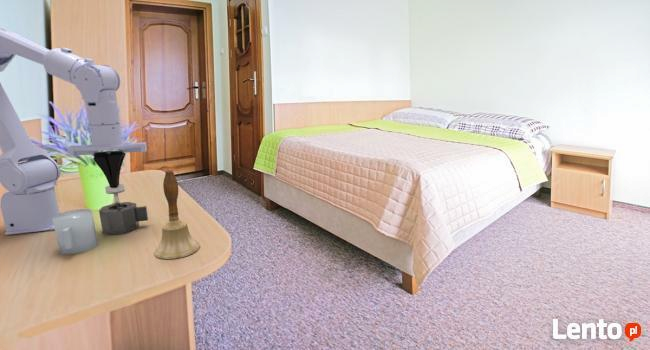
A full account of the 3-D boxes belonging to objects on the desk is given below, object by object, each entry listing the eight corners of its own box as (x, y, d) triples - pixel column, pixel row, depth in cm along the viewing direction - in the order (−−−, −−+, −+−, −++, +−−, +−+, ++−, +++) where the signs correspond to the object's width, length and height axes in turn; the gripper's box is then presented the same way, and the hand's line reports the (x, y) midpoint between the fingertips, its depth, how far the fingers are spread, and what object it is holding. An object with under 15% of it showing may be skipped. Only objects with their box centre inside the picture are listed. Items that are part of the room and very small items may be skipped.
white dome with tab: (49, 261, 64) (42, 225, 63) (66, 243, 72) (60, 211, 70) (89, 255, 66) (83, 221, 65) (101, 238, 74) (96, 207, 72)
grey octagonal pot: (100, 236, 75) (96, 213, 74) (108, 225, 81) (104, 204, 80) (146, 230, 78) (143, 208, 77) (150, 220, 84) (147, 199, 83)
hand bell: (163, 242, 72) (153, 167, 68) (204, 240, 73) (197, 165, 69) (147, 261, 64) (135, 177, 60) (193, 258, 65) (184, 175, 61)
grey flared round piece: (107, 216, 76) (103, 189, 75) (112, 211, 80) (107, 185, 78) (126, 214, 77) (122, 187, 76) (129, 209, 81) (125, 183, 79)
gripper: (56, 127, 68) (69, 194, 71) (139, 124, 72) (148, 187, 75) (69, 124, 74) (81, 185, 78) (145, 121, 79) (152, 179, 82)
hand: (114, 185), depth 77 cm, fingers closed
